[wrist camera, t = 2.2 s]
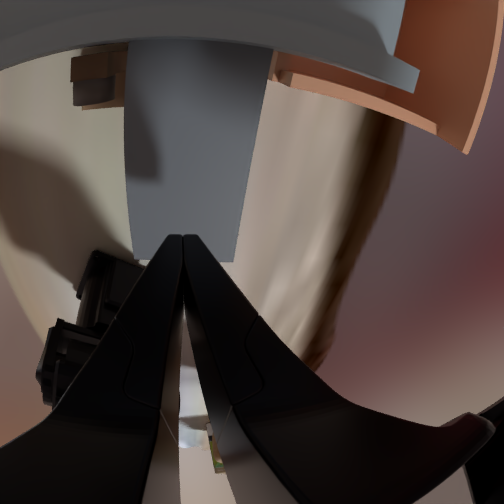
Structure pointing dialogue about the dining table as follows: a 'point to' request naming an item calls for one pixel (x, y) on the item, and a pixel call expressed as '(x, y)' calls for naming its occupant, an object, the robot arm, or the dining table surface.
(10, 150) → the dining table surface
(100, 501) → the robot arm
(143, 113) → the grey flat piece
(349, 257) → the dining table surface
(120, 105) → the lever stand
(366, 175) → the dining table surface
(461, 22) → the brown boxy piece
